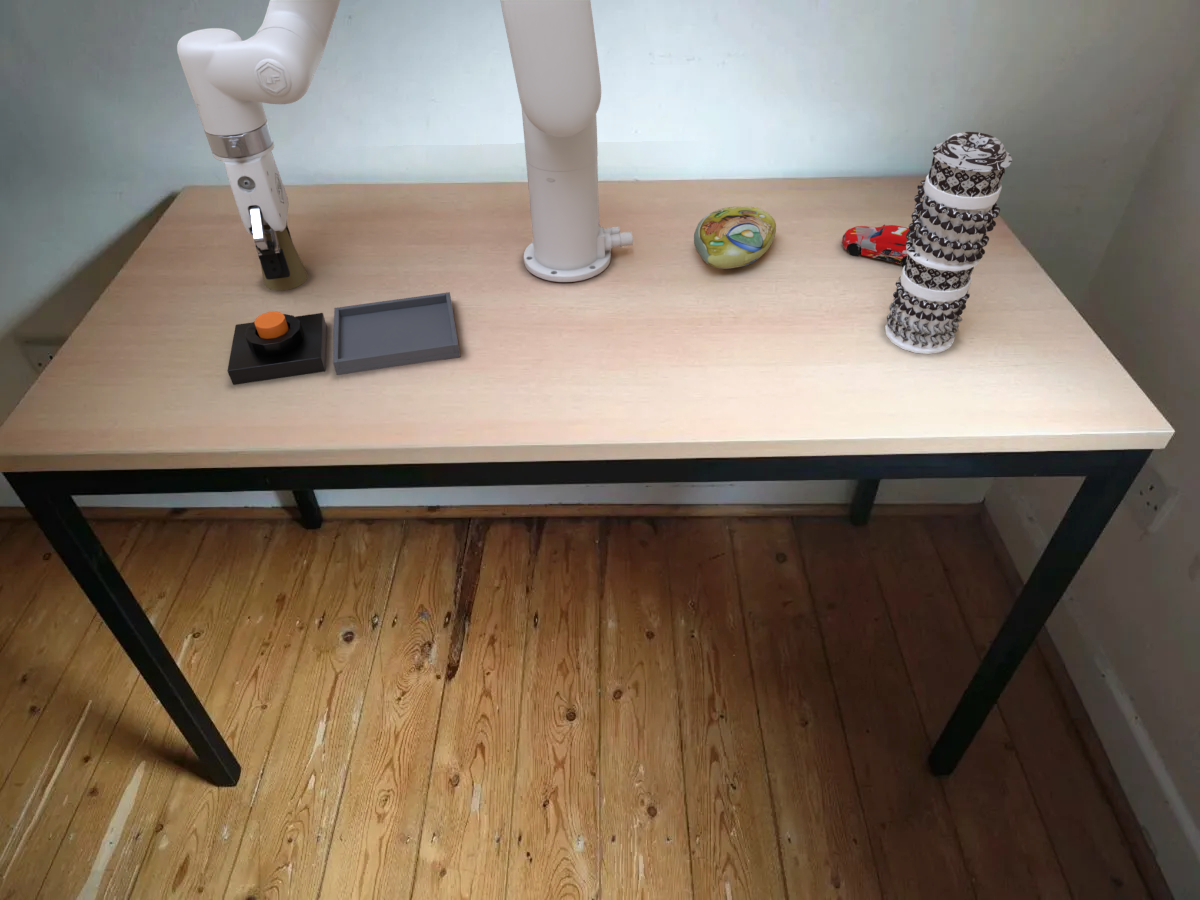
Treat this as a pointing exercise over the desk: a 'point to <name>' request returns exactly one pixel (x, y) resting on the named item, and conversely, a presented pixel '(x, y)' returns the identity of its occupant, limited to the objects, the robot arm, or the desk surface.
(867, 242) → the race car
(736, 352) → the desk surface
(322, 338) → the control block
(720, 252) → the cell model
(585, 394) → the desk surface
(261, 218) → the robot arm
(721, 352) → the desk surface
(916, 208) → the black white cylinder
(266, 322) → the button
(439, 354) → the tray
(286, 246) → the olive rounded lobed piece
